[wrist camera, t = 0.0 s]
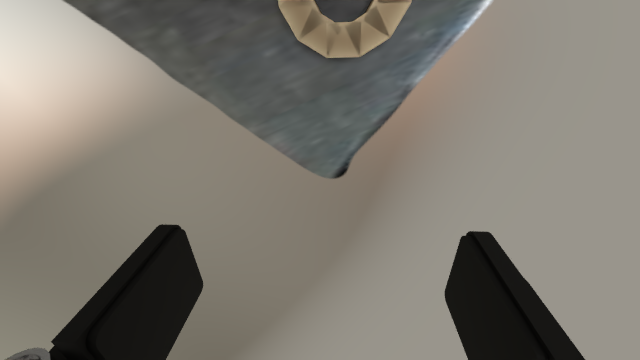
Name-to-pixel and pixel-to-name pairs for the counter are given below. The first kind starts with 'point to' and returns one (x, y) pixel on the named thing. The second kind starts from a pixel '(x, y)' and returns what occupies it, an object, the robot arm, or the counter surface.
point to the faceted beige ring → (343, 27)
